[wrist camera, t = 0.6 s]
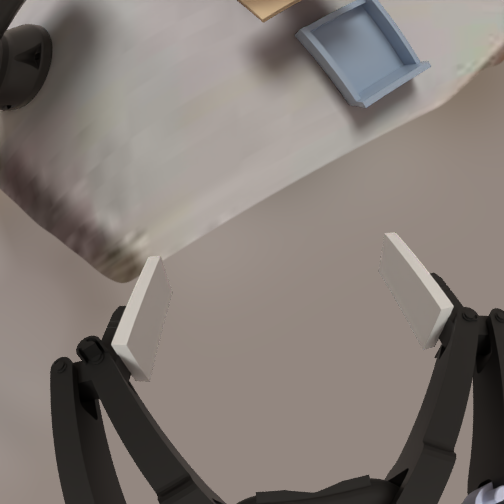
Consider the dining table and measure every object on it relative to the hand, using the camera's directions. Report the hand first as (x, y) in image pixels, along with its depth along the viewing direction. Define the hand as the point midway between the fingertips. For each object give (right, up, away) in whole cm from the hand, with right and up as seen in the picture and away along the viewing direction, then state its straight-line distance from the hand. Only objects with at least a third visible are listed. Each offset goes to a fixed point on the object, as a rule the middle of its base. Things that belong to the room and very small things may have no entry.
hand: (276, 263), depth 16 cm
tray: (+12, +28, +12) cm, 33 cm away
